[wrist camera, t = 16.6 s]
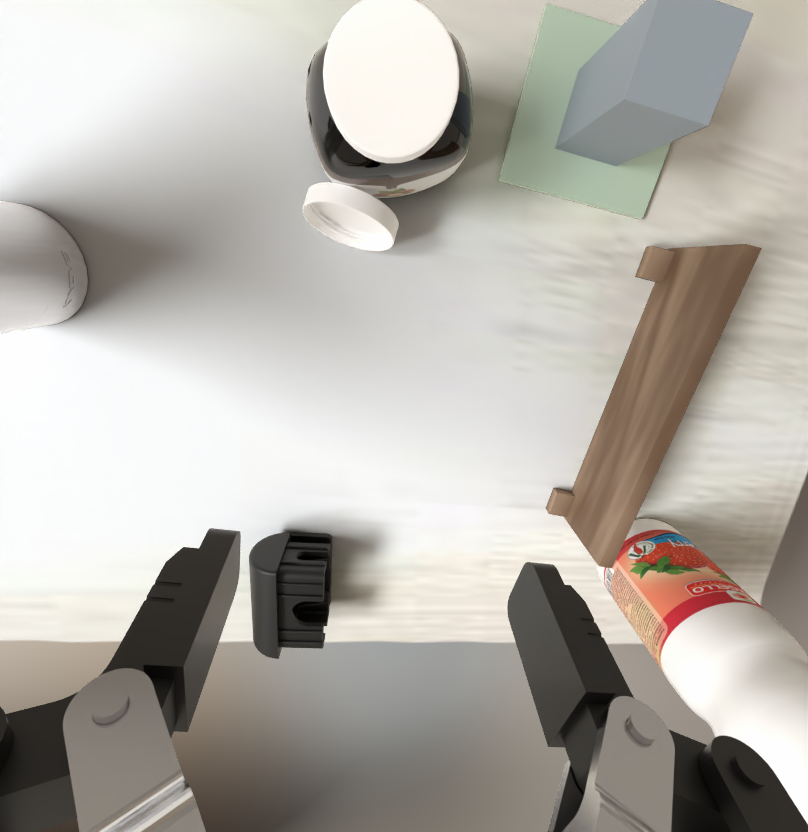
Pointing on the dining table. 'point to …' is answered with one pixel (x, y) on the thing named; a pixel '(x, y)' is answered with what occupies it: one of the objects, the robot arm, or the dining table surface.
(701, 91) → the slate block
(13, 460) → the dining table surface
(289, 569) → the end cap
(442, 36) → the spread jar
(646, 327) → the walnut screen
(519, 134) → the sage mat
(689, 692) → the fruit juice
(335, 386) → the dining table surface
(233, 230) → the dining table surface
